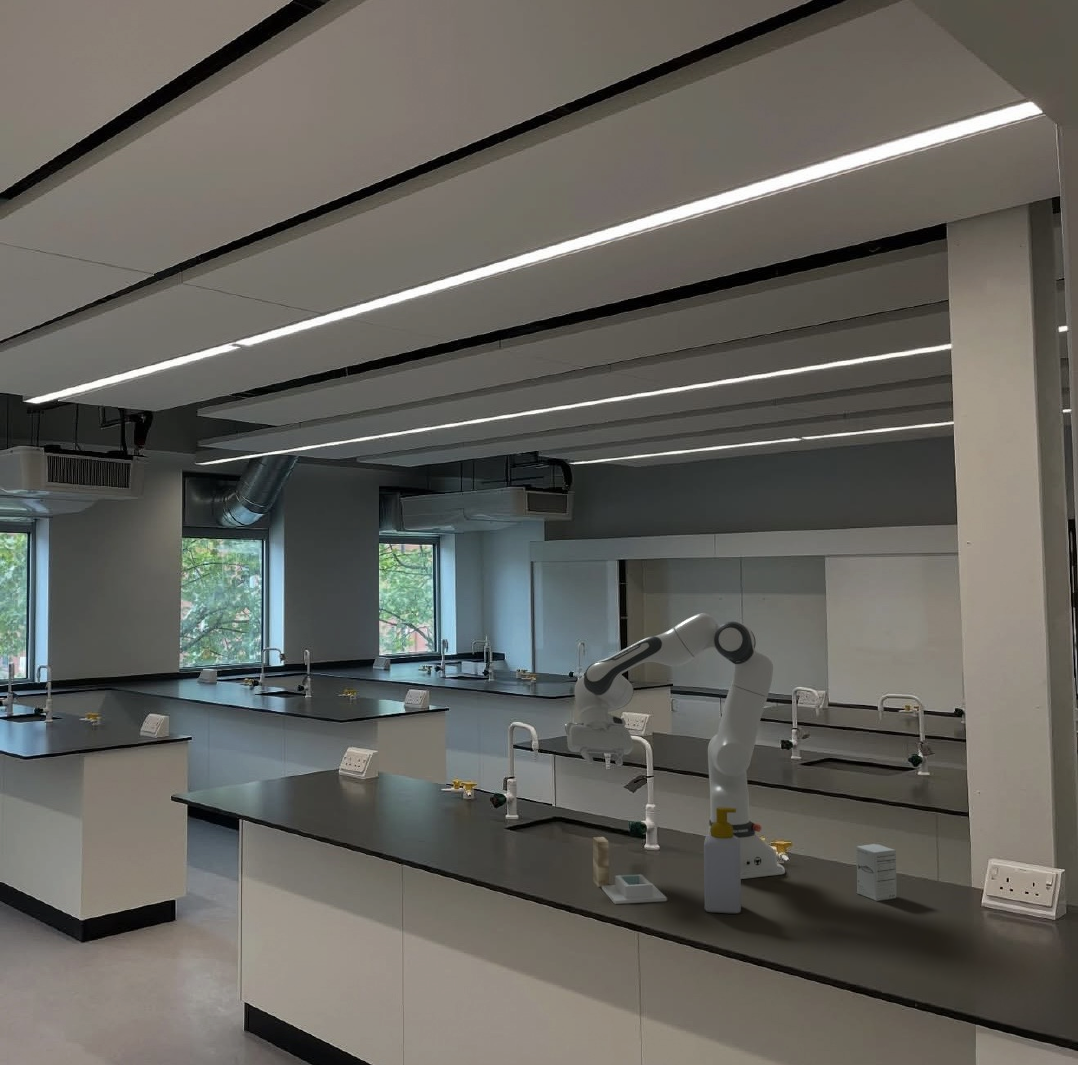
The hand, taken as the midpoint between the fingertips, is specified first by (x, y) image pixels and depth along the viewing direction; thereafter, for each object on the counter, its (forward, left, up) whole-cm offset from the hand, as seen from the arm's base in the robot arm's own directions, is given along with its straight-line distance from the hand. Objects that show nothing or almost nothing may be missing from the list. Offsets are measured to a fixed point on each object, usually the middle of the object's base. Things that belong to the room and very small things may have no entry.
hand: (605, 764), depth 299 cm
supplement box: (-64, +39, -31) cm, 81 cm away
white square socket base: (-1, +26, -30) cm, 40 cm away
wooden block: (+5, +14, -30) cm, 34 cm away
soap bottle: (-20, +42, -31) cm, 55 cm away
